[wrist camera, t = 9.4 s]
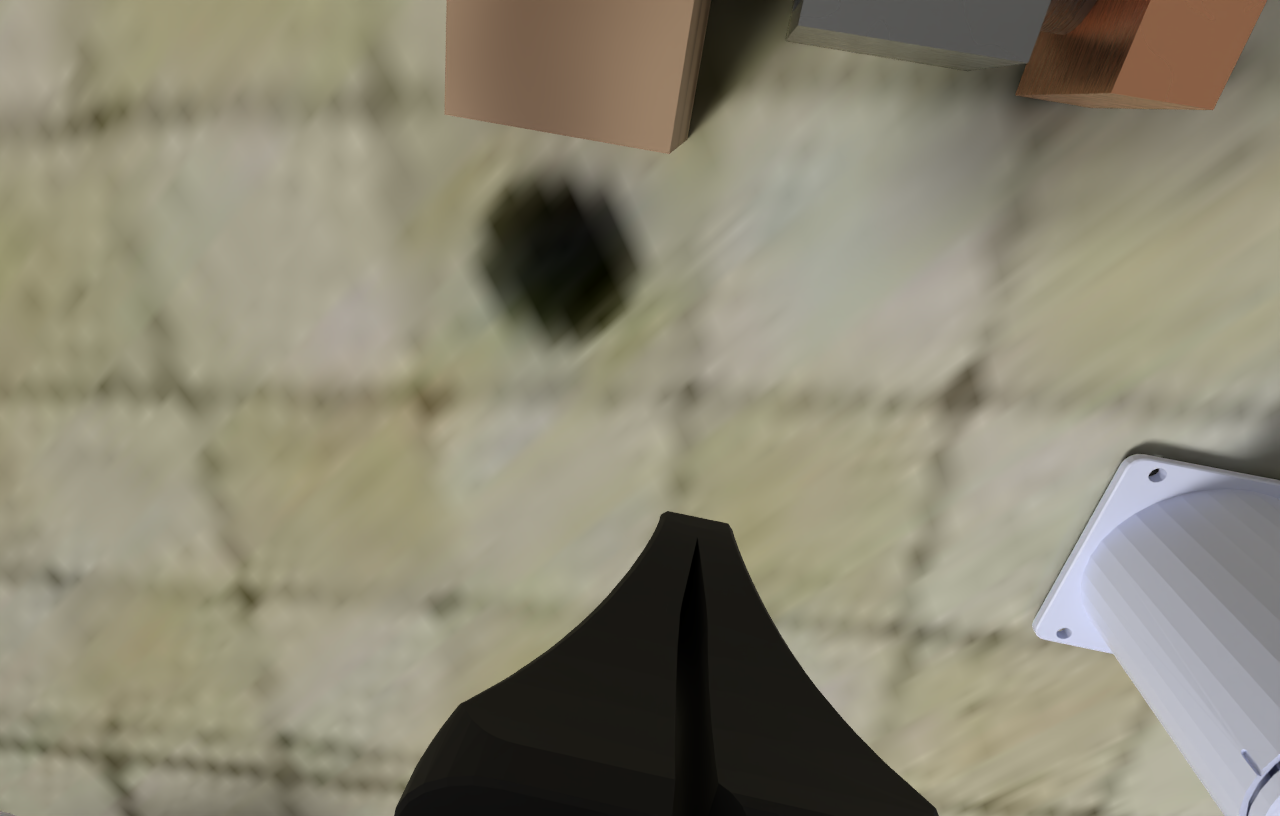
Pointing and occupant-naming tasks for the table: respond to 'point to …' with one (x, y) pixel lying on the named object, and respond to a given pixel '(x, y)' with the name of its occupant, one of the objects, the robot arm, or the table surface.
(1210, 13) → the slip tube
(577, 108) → the socket block
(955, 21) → the grey channel block
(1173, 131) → the table surface
